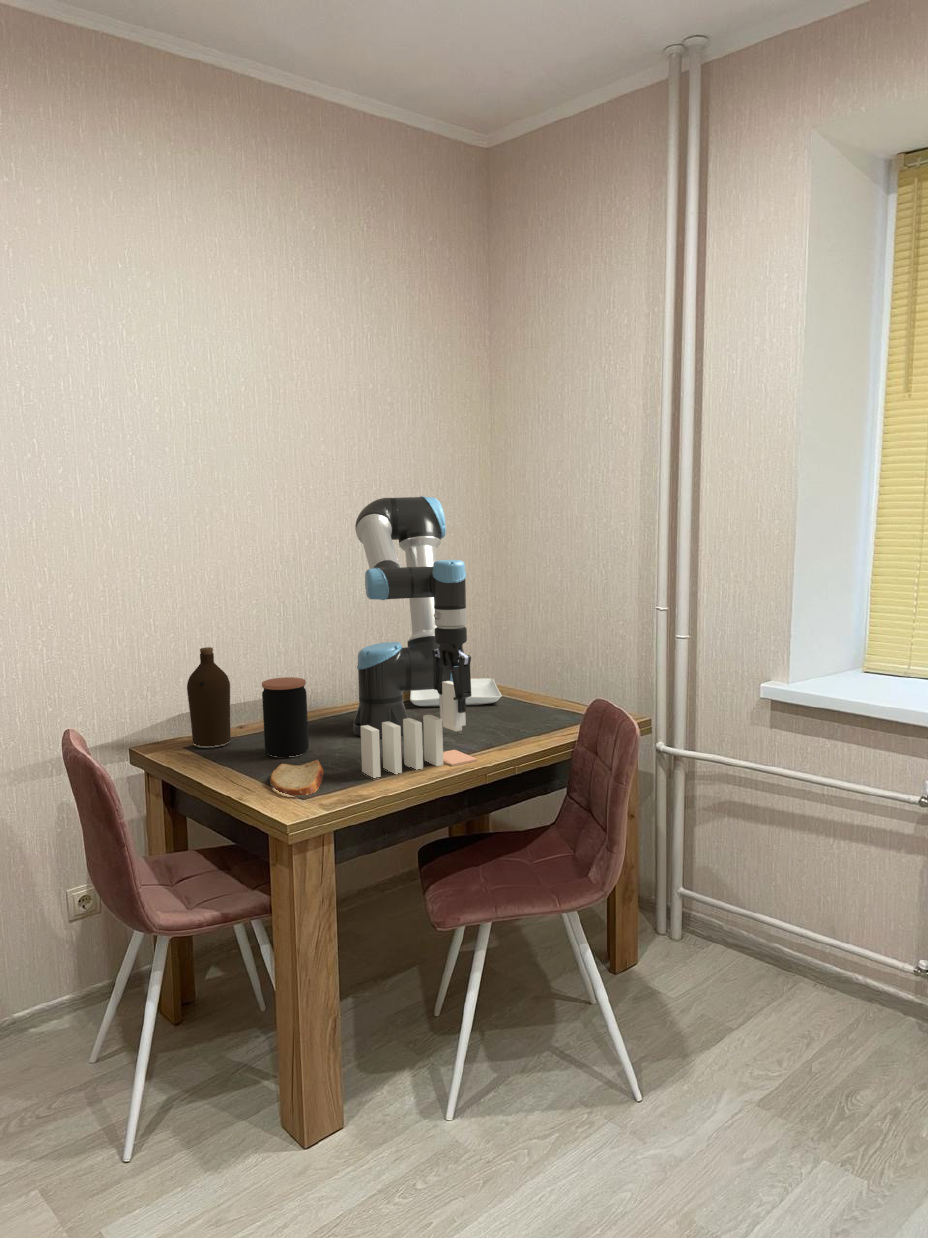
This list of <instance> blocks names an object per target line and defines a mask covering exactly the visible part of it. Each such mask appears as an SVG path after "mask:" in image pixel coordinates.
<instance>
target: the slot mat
mask: <svg viewBox="0 0 928 1238" xmlns="http://www.w3.org/2000/svg"><path fill="white" fill-rule="evenodd" d="M469 762H470V763H474V762H478V759H477V758H476V757H473V756H471V755H468V754H466V753H463V752H461V751H459V750H457V749H451V750H445V751H443V764H446V765H447V766H451V767H455V766H459V765H460V766H461V765H465V764H470V763H469Z"/></svg>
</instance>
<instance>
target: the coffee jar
mask: <svg viewBox="0 0 928 1238" xmlns="http://www.w3.org/2000/svg"><path fill="white" fill-rule="evenodd" d="M306 683H307V682H306V679H304V678H301V677H294V676H293V677H291V676H289V677H276V678H269V679H266V680H264V681H262V682H261V687H262V688H263V690H262V692H261V696H262V716H263V736H264V738H263V739H264V751H265V753H266V754H267V755H268V754H269V755H272V756H277V757H289V756H296V755H300V754H303V753H305V752H306V751H308V750H309V747H310V745H309V744H310V743H309V722H308V701H307V690H306V688H305V686H306V685H307V684H306ZM306 753H307V752H306ZM306 753H305V754H306Z"/></svg>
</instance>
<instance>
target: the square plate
mask: <svg viewBox="0 0 928 1238" xmlns="http://www.w3.org/2000/svg"><path fill="white" fill-rule="evenodd" d="M409 692H410V693H409V694H410V696H409V700H410V702H411V703H412V704H413V705H415V706H417V707H430V708H432V707H433V708H434V707H440V700H439V694H438V691H437V690H434V689H430V690H415V691H409ZM501 698H502V693H501V692H500V690H499V687H498V686H497V684H496V681H495V680H494V678H489V677H488V678H471V697H467V698H466V706H480V705H485V704H493V703H495V702H498V701H499V699H501Z"/></svg>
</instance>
